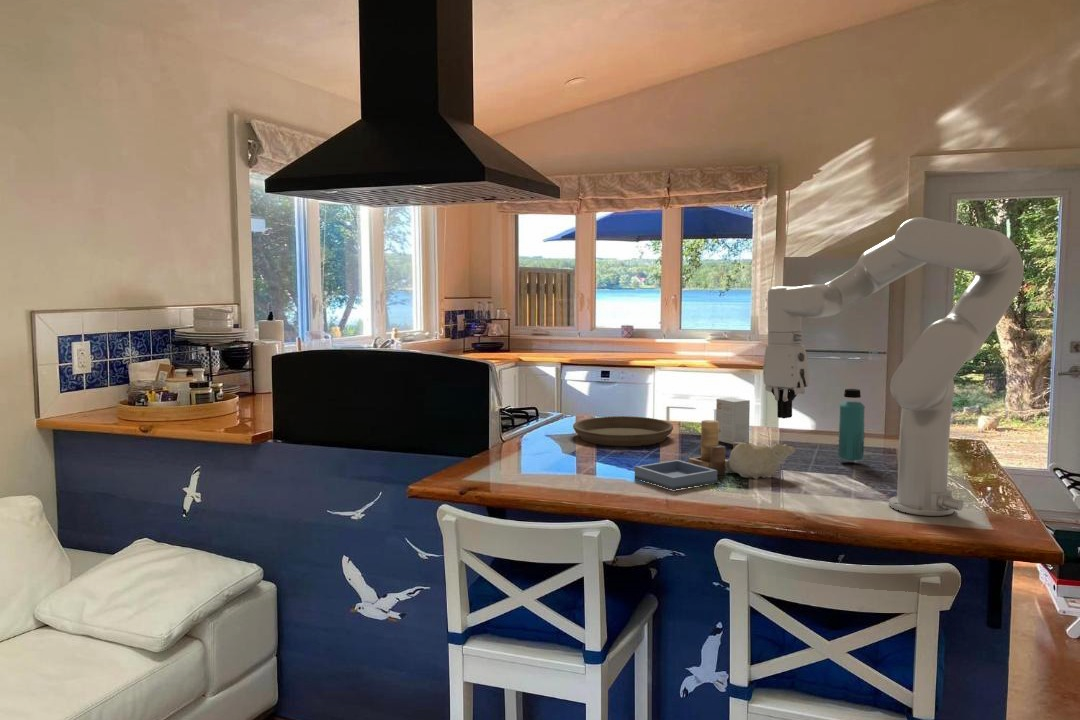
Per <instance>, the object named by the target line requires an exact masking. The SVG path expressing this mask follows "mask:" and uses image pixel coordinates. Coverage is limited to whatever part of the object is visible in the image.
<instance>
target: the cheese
mask: <svg viewBox="0 0 1080 720" xmlns="http://www.w3.org/2000/svg"><path fill="white" fill-rule="evenodd" d="M773 444H775V445H772V446H768V445H755V444H752V443H750V442H749V443H741V444H738V445H736V446H735V448H734V449H733V448H732V450H731V451H730V453H729V458H728V459H727V460H728V461H726V462H725V471H727V472H728V473H732V472H733V473H734V474H738V475H740V477H742V478H747V479H748V478H749V479H754V480H758V479H759V478H760V477H762V478H763V479H764V478H765V477H767V478H769V477H773V475H774V474H775V473H776V470H777V469H778V468H779V466H780V465H781V463H782V462H784V461H785V460H786V459H787V458H788V457H789V456H792V455H793V454H794V453H796V448H795V447H793V446H789V445H788V444H785V443H784V444H781V443H780V444H779V443H778V442H777V441H776V442H775V441H773ZM733 473H732V474H733ZM765 479H766V478H765Z"/></svg>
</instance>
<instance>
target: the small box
mask: <svg viewBox="0 0 1080 720" xmlns="http://www.w3.org/2000/svg"><path fill="white" fill-rule="evenodd" d="M750 402H751V401H750V400H749V399H742V398H737V397H723V398H722V397H721V398H716V404H715V405H716V407H715V408H716V410H715V412H716V413H715V415H716V416H715V418H716V419H715V421H718V422H719V436H718V442H722V443H726V444H731V445H733V443H734V442H745V443H749V444H750V406H751V404H750Z"/></svg>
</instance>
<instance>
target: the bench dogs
mask: <svg viewBox="0 0 1080 720" xmlns="http://www.w3.org/2000/svg"><path fill="white" fill-rule="evenodd" d="M741 443H745V442H734V443H733V444H732V446H733V447H732V450H733V449H734V448H735V446H736V445H738V444H741ZM725 459H726V446H725V445H719V444H718V445H713V446H711V455H710V469H714V470H718V473H717V475H723V476H725V475H724V474H726V472H725V471H726V469H725Z"/></svg>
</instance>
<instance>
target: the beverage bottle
mask: <svg viewBox="0 0 1080 720" xmlns="http://www.w3.org/2000/svg"><path fill="white" fill-rule="evenodd" d="M843 397H844V398H849V399H850V398H852V399H859V398H860V399H861V397H862V396H861V390H860V389H858V388H846V389H845V388H844V394H843ZM865 435H866V434H865V405H864V403H862V402H861V401H859V400H858V401H857V400H856V401H855V400H844V401H842V402H841V403H840V405H839V424H838V443H837V444H838V445H837V446H838V447H837V448H838V451H837V453H838V454H837V455H838V458H839V459H844V460H848V461H849V460H850V461H860V460H861V461H862V460H863V459H864V454H865Z"/></svg>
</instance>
